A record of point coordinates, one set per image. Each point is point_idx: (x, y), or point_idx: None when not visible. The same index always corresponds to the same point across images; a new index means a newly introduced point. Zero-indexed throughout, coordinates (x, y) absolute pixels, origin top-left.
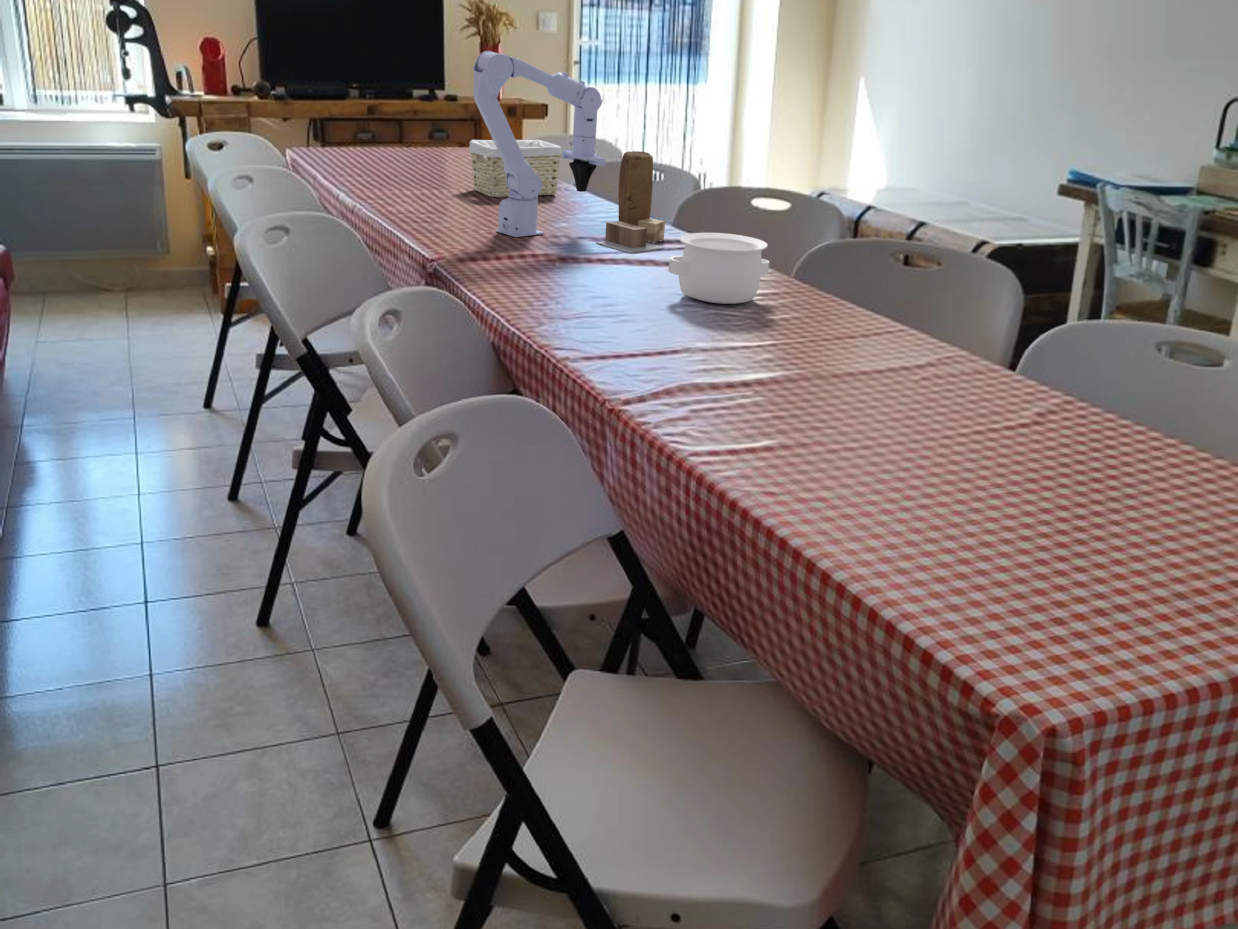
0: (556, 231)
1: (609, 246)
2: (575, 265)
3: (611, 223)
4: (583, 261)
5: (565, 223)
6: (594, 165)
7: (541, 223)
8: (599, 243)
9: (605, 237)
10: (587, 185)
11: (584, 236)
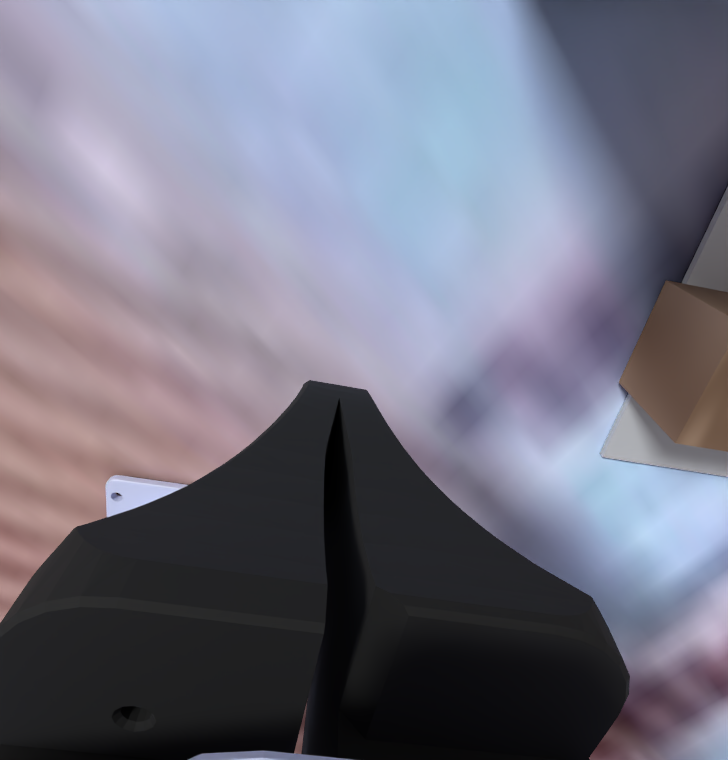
0: (255, 386)
1: (697, 470)
2: (699, 739)
3: (721, 444)
4: (700, 695)
5: (68, 113)
6: (607, 716)
7: (5, 273)
8: (625, 460)
9: (627, 391)
10: (384, 419)
11: (451, 363)
